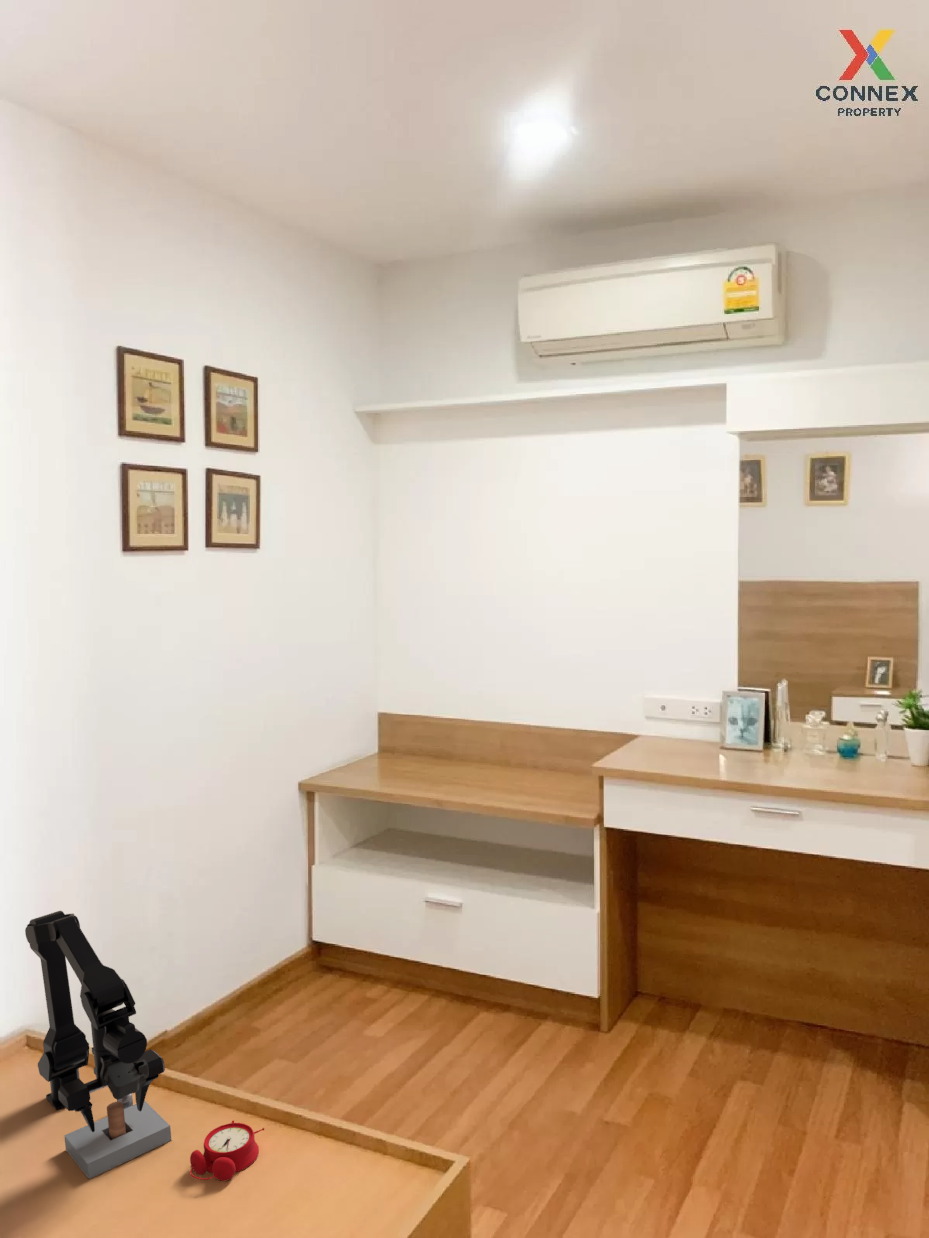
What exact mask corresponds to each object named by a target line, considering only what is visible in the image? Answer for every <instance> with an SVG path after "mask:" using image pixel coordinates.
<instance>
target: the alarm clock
mask: <svg viewBox="0 0 929 1238" xmlns="http://www.w3.org/2000/svg"><path fill="white" fill-rule="evenodd" d="M262 1131H265V1128H264V1127H262V1129H259V1130H256V1131H254V1130H253V1128H252V1126H250V1125H248V1124H246V1123H242V1122H235V1120H232V1121H231V1123H226V1124H222V1125H219V1126H218V1127H216V1128H214V1129H213V1130H211V1131H210V1132H209V1133H207V1135H206V1136H205V1138H204V1141H203V1153H202V1152H201V1151H200V1150H198V1149H195V1150H193V1151H192V1152H191V1154H190V1157H189V1159H190V1160H189V1162H190V1168H191V1169H190V1172H189V1174H190V1177H193V1179H197V1180H200V1181H201V1180H202V1181H207V1180H208V1181H209V1180H211V1179H213V1178H215V1179H216V1180H219V1181H223V1182H224V1181H229V1180H230V1179H232V1178H233V1177H234V1176H235V1174H236V1173H239V1172H241V1171H243V1170H244V1169H248V1167H250V1166H251V1165H252V1164H254V1162H255V1161H256V1159H257V1158H258V1157H259V1153H260V1149H259V1145H258V1143H257V1142H256V1139H255V1135H256V1134H257V1133H259V1132H262ZM193 1171H194V1173H196V1174H197V1175H204V1174H206V1172H208V1173H210V1174H213V1175H212V1176H210V1177H205V1178H204V1177H198V1176H195V1175H194V1174H193Z"/></svg>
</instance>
